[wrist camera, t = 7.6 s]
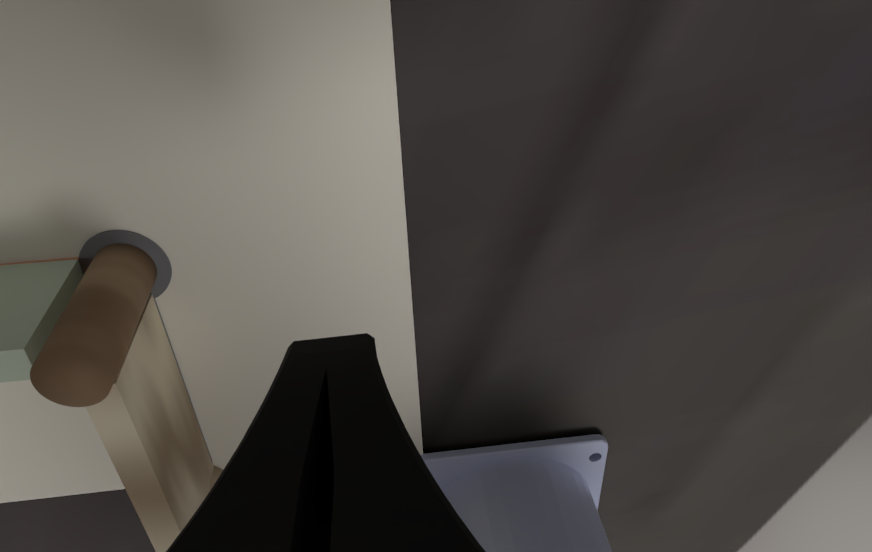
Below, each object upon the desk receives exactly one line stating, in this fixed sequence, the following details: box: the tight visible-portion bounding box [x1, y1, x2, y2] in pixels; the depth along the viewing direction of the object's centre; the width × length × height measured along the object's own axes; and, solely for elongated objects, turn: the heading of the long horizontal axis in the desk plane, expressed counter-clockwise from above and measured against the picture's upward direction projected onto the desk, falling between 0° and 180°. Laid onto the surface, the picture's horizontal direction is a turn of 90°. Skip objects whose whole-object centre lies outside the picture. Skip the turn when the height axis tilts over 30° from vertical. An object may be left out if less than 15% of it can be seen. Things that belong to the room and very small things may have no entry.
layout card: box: [0, 0, 423, 503], centre depth 20 cm, size 20×18×1 cm
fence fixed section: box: [30, 243, 223, 552], centre depth 21 cm, size 12×2×5 cm, turn 2°
